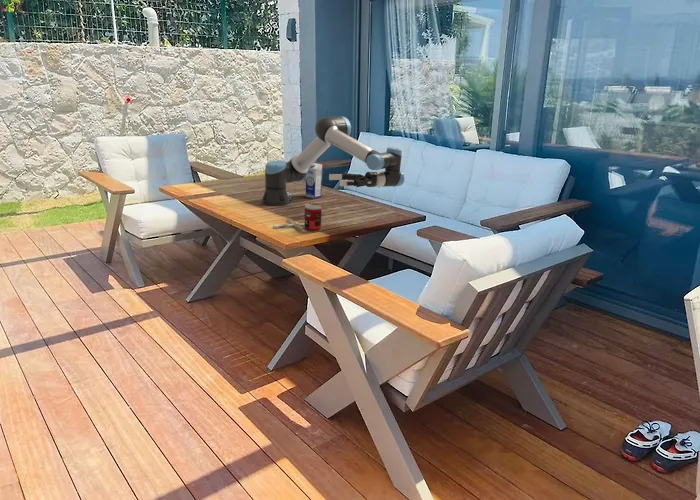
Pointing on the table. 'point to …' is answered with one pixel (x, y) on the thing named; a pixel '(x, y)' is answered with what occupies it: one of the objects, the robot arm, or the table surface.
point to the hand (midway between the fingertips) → (334, 180)
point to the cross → (293, 224)
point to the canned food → (313, 217)
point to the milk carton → (314, 181)
